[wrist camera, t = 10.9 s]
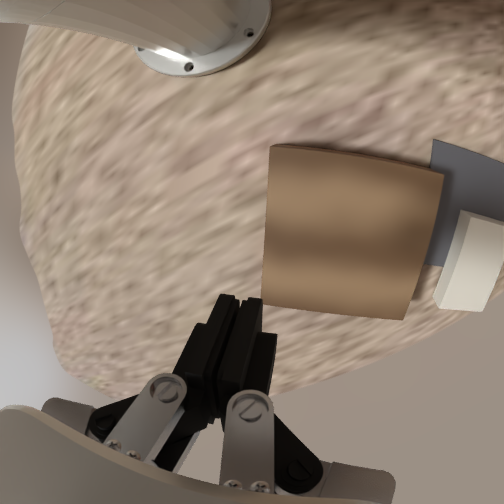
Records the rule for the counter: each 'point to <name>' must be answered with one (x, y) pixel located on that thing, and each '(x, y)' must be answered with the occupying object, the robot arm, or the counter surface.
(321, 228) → the brown square plate
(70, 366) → the counter surface
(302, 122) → the counter surface
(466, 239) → the white rectangular block
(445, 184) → the mat
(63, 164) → the counter surface
